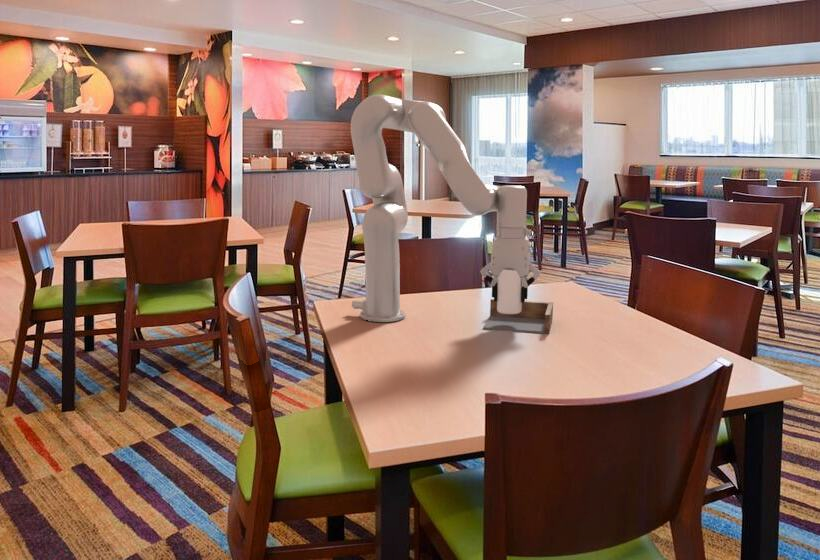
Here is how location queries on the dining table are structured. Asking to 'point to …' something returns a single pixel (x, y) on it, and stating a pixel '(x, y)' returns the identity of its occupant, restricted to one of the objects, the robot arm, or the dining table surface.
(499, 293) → the can
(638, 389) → the dining table surface
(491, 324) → the mat
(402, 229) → the robot arm
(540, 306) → the corner walls
